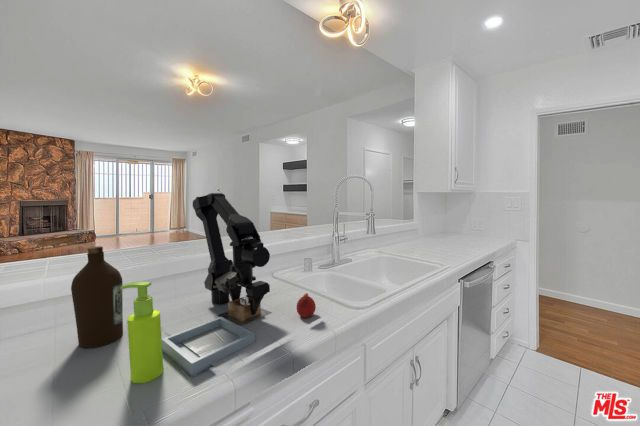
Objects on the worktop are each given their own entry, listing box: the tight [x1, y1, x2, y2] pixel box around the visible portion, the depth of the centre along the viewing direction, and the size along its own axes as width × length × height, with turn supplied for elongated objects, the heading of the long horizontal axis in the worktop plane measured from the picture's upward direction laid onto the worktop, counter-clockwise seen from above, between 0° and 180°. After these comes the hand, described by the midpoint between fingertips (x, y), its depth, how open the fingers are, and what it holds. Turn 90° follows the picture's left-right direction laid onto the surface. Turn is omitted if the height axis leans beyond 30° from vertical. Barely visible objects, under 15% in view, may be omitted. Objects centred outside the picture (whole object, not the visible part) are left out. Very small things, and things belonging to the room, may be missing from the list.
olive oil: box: [70, 245, 124, 349], centre depth 74 cm, size 11×11×25 cm
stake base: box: [216, 296, 273, 327], centre depth 87 cm, size 12×12×6 cm
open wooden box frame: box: [227, 295, 262, 321], centre depth 87 cm, size 7×7×4 cm
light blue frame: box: [162, 316, 256, 378], centre depth 70 cm, size 16×16×3 cm
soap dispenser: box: [120, 281, 164, 384], centre depth 59 cm, size 6×7×20 cm
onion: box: [296, 292, 316, 319], centre depth 85 cm, size 6×6×8 cm
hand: (244, 310), depth 87 cm, fingers open, 9 cm apart
